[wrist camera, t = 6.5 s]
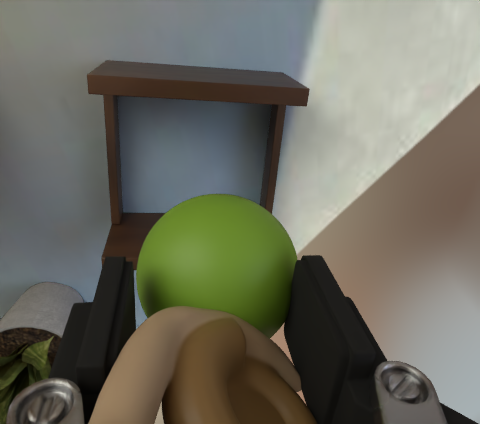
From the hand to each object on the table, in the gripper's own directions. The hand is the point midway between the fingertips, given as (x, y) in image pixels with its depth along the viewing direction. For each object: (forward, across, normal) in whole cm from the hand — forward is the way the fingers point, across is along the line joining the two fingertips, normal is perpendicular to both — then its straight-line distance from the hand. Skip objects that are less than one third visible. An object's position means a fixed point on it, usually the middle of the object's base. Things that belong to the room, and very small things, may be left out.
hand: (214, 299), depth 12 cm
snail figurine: (+5, 0, 0) cm, 5 cm away
